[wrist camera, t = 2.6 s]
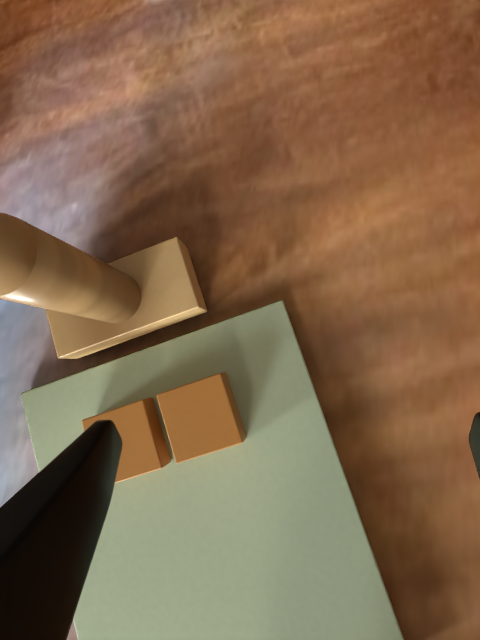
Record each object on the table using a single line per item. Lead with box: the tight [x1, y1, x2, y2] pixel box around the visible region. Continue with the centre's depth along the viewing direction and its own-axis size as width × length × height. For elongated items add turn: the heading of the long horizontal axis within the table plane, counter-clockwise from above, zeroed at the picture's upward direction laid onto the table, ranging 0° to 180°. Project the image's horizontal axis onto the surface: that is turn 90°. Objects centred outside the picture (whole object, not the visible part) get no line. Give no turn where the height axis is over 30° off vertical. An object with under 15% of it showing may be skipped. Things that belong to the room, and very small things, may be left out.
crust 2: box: [156, 372, 247, 464], centre depth 23 cm, size 4×4×2 cm
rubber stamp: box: [0, 213, 207, 359], centre depth 19 cm, size 9×4×14 cm, turn 108°
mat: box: [21, 300, 404, 640], centre depth 23 cm, size 20×18×1 cm
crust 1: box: [82, 397, 171, 483], centre depth 23 cm, size 4×4×2 cm
